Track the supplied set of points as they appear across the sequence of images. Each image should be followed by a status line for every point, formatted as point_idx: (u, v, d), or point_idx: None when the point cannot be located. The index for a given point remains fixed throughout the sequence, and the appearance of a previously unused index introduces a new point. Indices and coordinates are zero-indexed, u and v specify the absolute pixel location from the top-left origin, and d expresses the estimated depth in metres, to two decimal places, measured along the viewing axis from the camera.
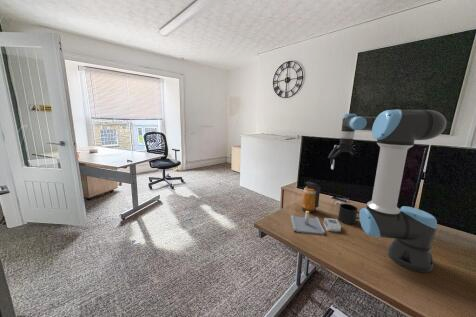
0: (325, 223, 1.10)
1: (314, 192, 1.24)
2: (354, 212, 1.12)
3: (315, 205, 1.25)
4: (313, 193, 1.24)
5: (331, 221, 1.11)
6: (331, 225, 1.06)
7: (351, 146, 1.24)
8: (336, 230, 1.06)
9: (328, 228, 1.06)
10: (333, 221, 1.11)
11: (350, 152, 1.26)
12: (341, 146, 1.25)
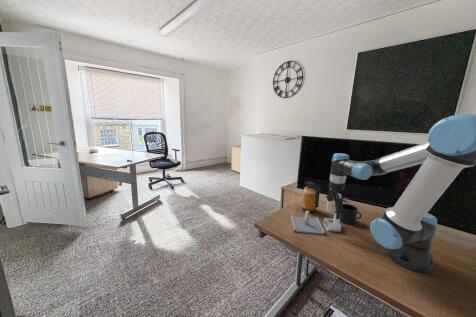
0: (325, 223, 1.10)
1: (314, 192, 1.24)
2: (354, 212, 1.12)
3: (315, 205, 1.25)
4: (313, 193, 1.24)
5: (331, 221, 1.11)
6: (331, 225, 1.06)
7: (335, 192, 1.02)
8: (336, 230, 1.06)
9: (328, 228, 1.06)
10: (333, 221, 1.11)
11: None
12: (332, 189, 1.08)
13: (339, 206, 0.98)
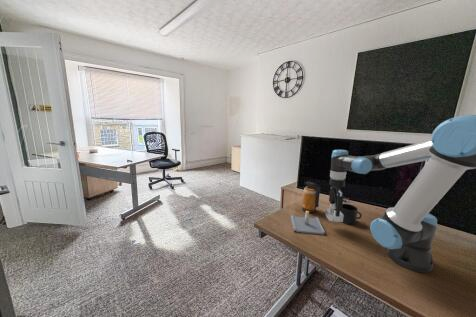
0: (327, 213, 1.08)
1: (314, 192, 1.24)
2: (354, 212, 1.12)
3: (315, 205, 1.25)
4: (313, 193, 1.24)
5: (333, 211, 1.09)
6: (333, 215, 1.04)
7: (336, 189, 1.02)
8: None
9: (330, 218, 1.04)
10: None
11: None
12: (332, 186, 1.08)
13: (339, 204, 0.99)
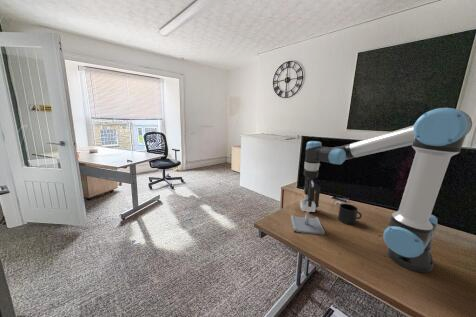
0: (301, 204, 1.10)
1: (314, 192, 1.24)
2: (354, 212, 1.12)
3: None
4: None
5: None
6: (306, 205, 1.06)
7: (309, 180, 1.03)
8: None
9: (303, 208, 1.07)
10: None
11: None
12: (307, 177, 1.09)
13: (311, 194, 1.01)
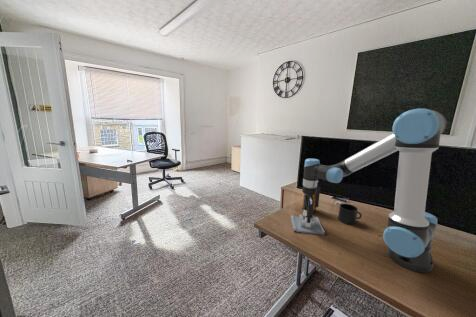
0: (300, 219, 1.12)
1: None
2: (354, 212, 1.12)
3: (315, 205, 1.25)
4: None
5: None
6: None
7: (308, 197, 1.05)
8: (310, 226, 1.08)
9: (302, 224, 1.08)
10: None
11: (307, 203, 1.07)
12: None
13: (309, 211, 1.03)
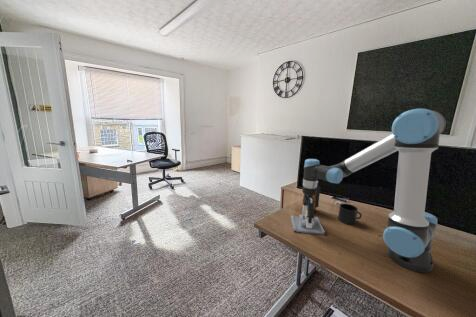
0: (300, 219, 1.12)
1: None
2: (354, 212, 1.12)
3: (315, 205, 1.25)
4: None
5: None
6: (305, 221, 1.08)
7: (307, 197, 1.05)
8: None
9: (302, 224, 1.08)
10: None
11: None
12: None
13: (310, 210, 1.01)
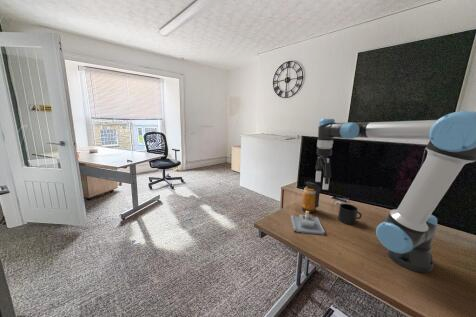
0: (300, 219, 1.12)
1: (314, 192, 1.24)
2: (354, 212, 1.12)
3: (315, 205, 1.25)
4: (313, 193, 1.24)
5: None
6: (305, 221, 1.08)
7: (323, 158, 1.02)
8: (310, 226, 1.08)
9: (302, 224, 1.08)
10: None
11: None
12: (320, 156, 1.08)
13: (327, 170, 0.97)
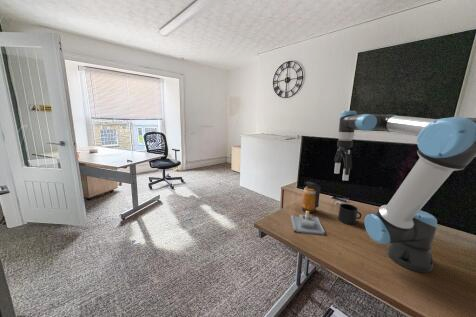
0: (300, 219, 1.12)
1: (314, 192, 1.24)
2: (354, 212, 1.12)
3: (315, 205, 1.25)
4: (313, 193, 1.24)
5: None
6: (305, 221, 1.08)
7: (344, 150, 1.04)
8: (310, 226, 1.08)
9: (302, 224, 1.08)
10: None
11: None
12: (340, 148, 1.10)
13: (348, 161, 0.99)
